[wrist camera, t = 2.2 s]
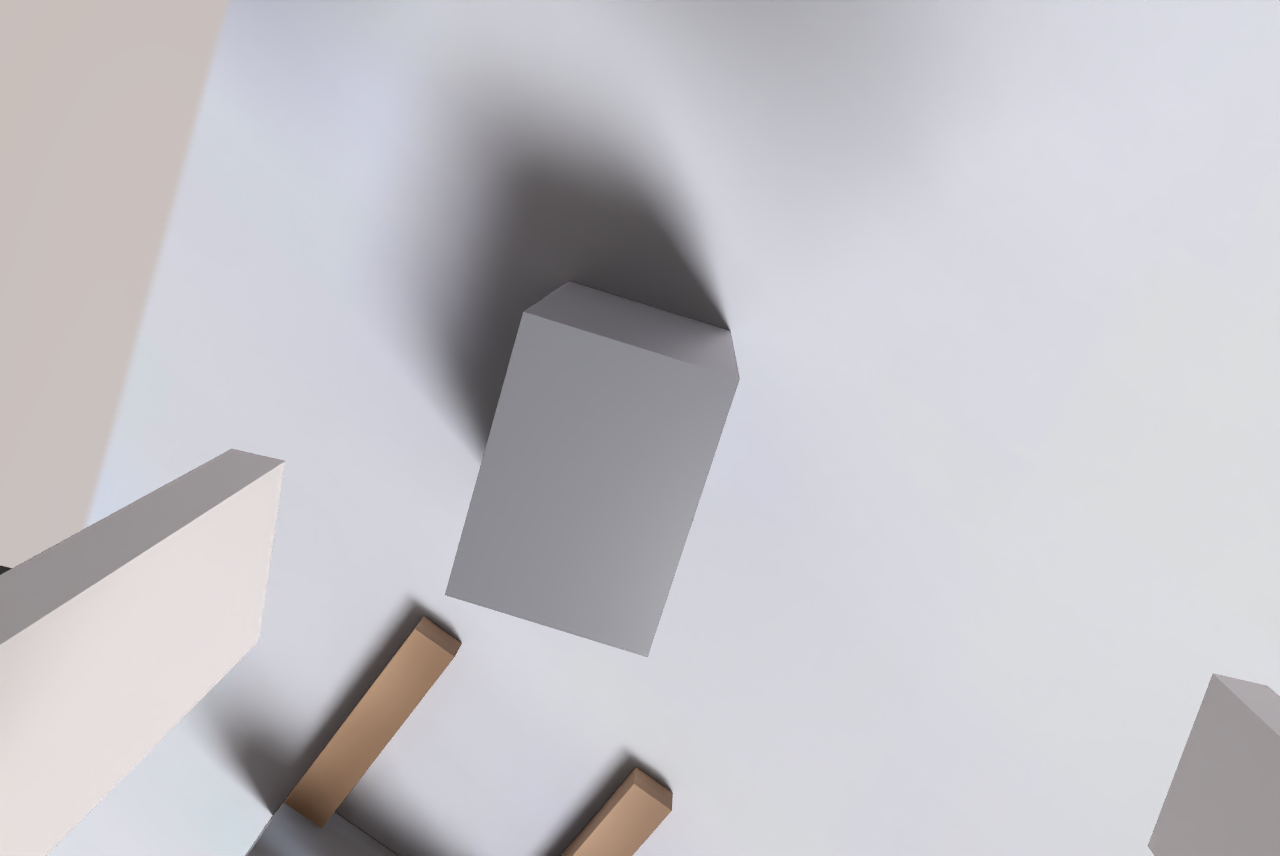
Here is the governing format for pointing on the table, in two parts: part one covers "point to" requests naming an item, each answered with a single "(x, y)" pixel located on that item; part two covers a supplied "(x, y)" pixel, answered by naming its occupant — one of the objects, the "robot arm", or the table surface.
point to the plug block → (595, 465)
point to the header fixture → (306, 820)
